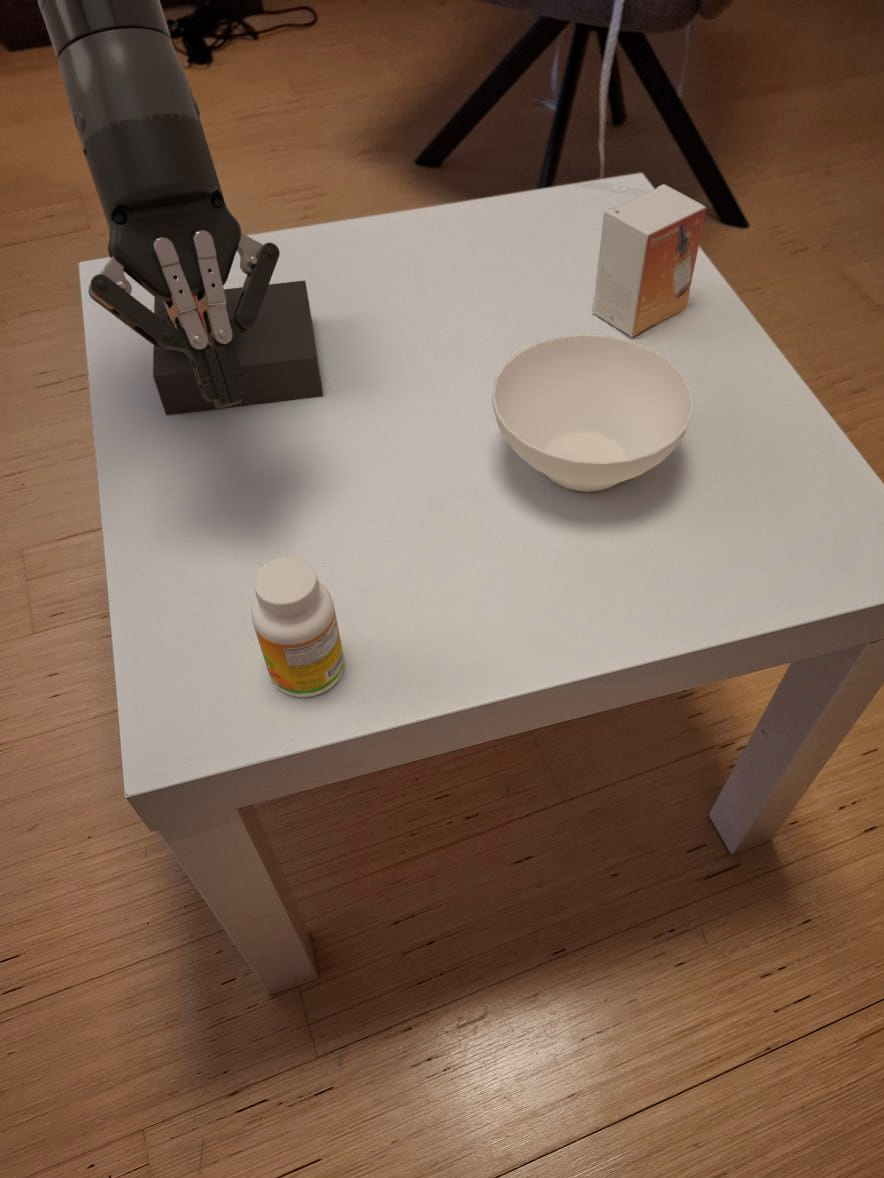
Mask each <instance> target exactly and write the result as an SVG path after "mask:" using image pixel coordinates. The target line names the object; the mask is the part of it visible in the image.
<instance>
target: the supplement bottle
mask: <svg viewBox="0 0 884 1178" xmlns="http://www.w3.org/2000/svg"><path fill="white" fill-rule="evenodd" d="M253 590H254V592H255V597H254V599H253V600H252V603H251V609H250V613H251V614H250V615H251V621H252V625H253V629H254V631H255V634H256V638H257V641H258V645H259V647H260V650H261V654H262V657H263V659H264V663H265V666H266V669H267V672H268V676H269V678H270V680H271V682H272V683H273V685H274V686H275V687H276V688H277V689H278V690H279V691H281V692H282V693H284V694H287V695H289V696H291V697H297V698H309V697H315V696H318V695H321V694H323V693H325V692H327V691H328V690H329V689H331V688H333V686H334V685H335V684H336V683H337V682H338V681H339V680H340V679H341V677H342V674H343V673H344V669H345V654H344V650H343V644H342V639H341V634H340V629H339V625H338V620H337V619H338V618H337V614H336V609H335V605H334V601H333V598H332V597H333V596H332V595H331V593H330V591H329V590H328V588H327V587H326V586H325V585H324V584H323V583H322V582H321V581H319V579H318V574H317V572H316V569H315V568H314V566H313V565H312V563H310V562H309V561H307V560H305V559H304V558H300V557H297V556H281V557H276V558H273V559H271V560H269V561H268V562H266V563H265V564H263V565H262V566H261V567H260V568H259V569H258V571H257V572H256V574H255V575H254V580H253Z"/></svg>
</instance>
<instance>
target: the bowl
mask: <svg viewBox="0 0 884 1178" xmlns="http://www.w3.org/2000/svg"><path fill="white" fill-rule="evenodd" d="M491 401H492V407H493V408H492V409H493V412H494V416H495V421H496V424H497V426H498V429H499V430H500V432H501V434H502V436H503V437H504V439H505V440H506V442H507V443H508V444H509V446H510V447H511V449H512V450H513V451H514V453H516V454H517V456H519V457H520V458H521V459H522V460H524V461H525V462H526V463H527V464H528V465H530V466H531V467H532V468H533V469H535V470H536V471H538V472H540V473H542V474H544V475H546V477H547V478H548V479H549V480H551V481H552V482H553V483H554V484H556V485H559V486H561V487H563V488H565V489H567V490H568V489H569V490H572V491H576V492H584V493H585V492H587V493H591V492H601V491H603V490H606V489H610V488H613V487H614V486H616V485H617V484H620V483H622V482H625V481H627V480H631V479H634V478H636V477H638V476H641V475H644V473H646V472H648V471H650V470H651V469H653V468H655V467H656V466H659V464H660V463H662V462H664V460H665V459H666V458H667V457H668V456H669V455H670V454H671V453H672V452H673V451H674V450H675V448H676V447H677V446H678V445H679V444H680V442H681V441H682V440H683V439H684V437H685V435H686V432H687V430H688V427H689V424H690V422H691V419H692V416H693V414H694V412H695V411H694V393H693V391H692V389H691V387H690V384H689V382H688V380H687V377H686V376H685V375H684V374H683V373H682V372H681V370H679V368H678V367H677V366H676V365H675V364H674V363H673V362H672V361H670V360H669V359H667V358H666V357H664V356H663V355H662V354H660V353H659V352H657V351H656V350H654V349H651V348H650V347H646V346H644V345H642V344H640V343H638V342H635V341H632V340H628V339H623V338H619V337H615V336H611V335H598V334H585V333H582V334H572V335H562V336H557V337H553V338H549V339H545V340H542V341H538V342H536V343H533V344H532V345H530V346H527V347H526V348H523V349H522V350H520V351H518V352H517V353H515V354H514V355H513V356H512V357H510V359H509V360H508V361H506V362H505V363H504V364H503V365H502V367H501V368H500V370H499V371H498V373H497V375H496V377H495V379H494V380H493V387H492V392H491Z"/></svg>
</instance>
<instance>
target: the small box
mask: <svg viewBox="0 0 884 1178" xmlns="http://www.w3.org/2000/svg"><path fill="white" fill-rule="evenodd" d="M706 214H707V207H706V206H705V205H704V204H702V203H700V202H698V201H696V200H695V199H692V198H691V197H689V196H688V195H685V194H684V193H681V192H680V191H678V190H676V189H674V188H672V187H671V186H669V185H667V184H663V183H662V184H661V185H658V186H657V187H656V188H654V189H652V190H650V191H647V192H646V193H643V194H641V195H639V196H637V197H634V198H633V199H630V200H628V201H626V202H624V203H622V204H619V205H616V206H615V207H612V208H609V209H606V210H604V211H603V219H602V225H601V226H602V227H601V234H600V235H601V236H600V245H599V253H598V263H597V270H596V271H597V272H596V277H595V279H596V280H595V288H594V296H593V305H592V313H593V314H594V315H596V316H598V317H599V318H601V319H602V320H604V321H605V322H607V323H609V324H610V325H612V326H613V327H615V328H617V329H618V330H619V331H621V332H623V333H624V334H626V335H627V336H629V337H630V338H633V337H635V336H637V335H638V334H640V333H642V332H643V331H645V330H647V329H649V328H650V327H652V326H654V325H656V324H658V323H660V322H662V321H664V320H666V319H668V318H670V317H671V316H674V315H676V314H677V313H680V312H682V311H684V310H685V309H686V308H687V305H688V301H689V297H690V291H691V287H692V281H693V278H694V277H693V276H694V271H695V267H696V261H697V256H698V252H699V247H700V241H701V237H702V233H703V228H704V222H705V218H706Z"/></svg>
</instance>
